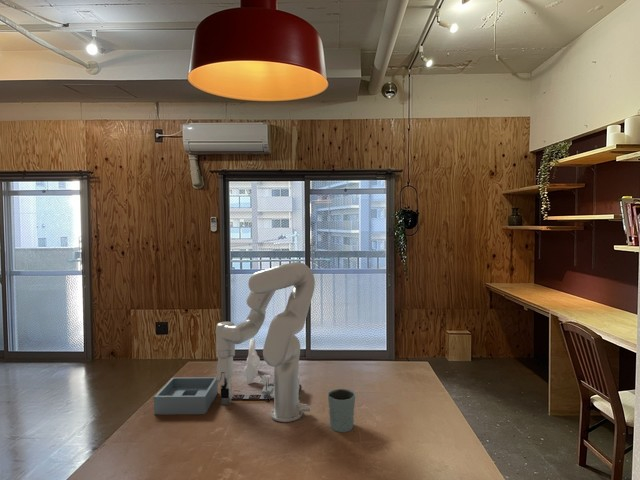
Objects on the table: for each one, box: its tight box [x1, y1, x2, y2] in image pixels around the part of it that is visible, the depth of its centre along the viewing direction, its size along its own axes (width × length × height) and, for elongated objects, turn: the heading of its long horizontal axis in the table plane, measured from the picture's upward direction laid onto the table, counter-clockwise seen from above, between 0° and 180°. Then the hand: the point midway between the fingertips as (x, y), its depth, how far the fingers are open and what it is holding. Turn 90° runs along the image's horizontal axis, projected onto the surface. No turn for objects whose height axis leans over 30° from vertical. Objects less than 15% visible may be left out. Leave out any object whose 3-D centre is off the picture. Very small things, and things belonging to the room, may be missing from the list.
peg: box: [220, 377, 232, 406], centre depth 168 cm, size 4×4×10 cm
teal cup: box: [327, 388, 356, 433], centre depth 148 cm, size 10×10×12 cm
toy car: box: [258, 374, 303, 401], centre depth 176 cm, size 18×10×12 cm
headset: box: [243, 338, 261, 385], centre depth 197 cm, size 20×7×18 cm, turn 5°
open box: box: [153, 376, 219, 415], centre depth 168 cm, size 20×20×7 cm
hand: (226, 394), depth 168 cm, fingers closed on peg, 4 cm apart
